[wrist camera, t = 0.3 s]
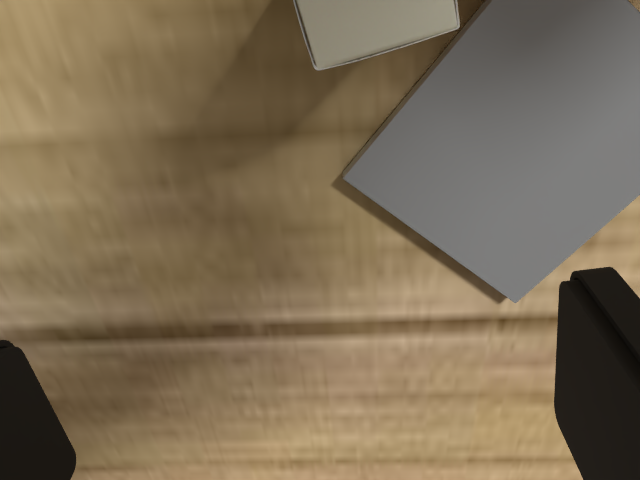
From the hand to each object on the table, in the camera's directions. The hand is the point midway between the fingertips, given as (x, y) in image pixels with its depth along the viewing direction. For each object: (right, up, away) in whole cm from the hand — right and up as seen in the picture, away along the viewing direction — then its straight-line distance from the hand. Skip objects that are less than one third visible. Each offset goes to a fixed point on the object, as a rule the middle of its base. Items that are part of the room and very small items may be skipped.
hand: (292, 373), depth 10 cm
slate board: (+14, +9, +26) cm, 31 cm away
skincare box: (+3, +17, +22) cm, 29 cm away
